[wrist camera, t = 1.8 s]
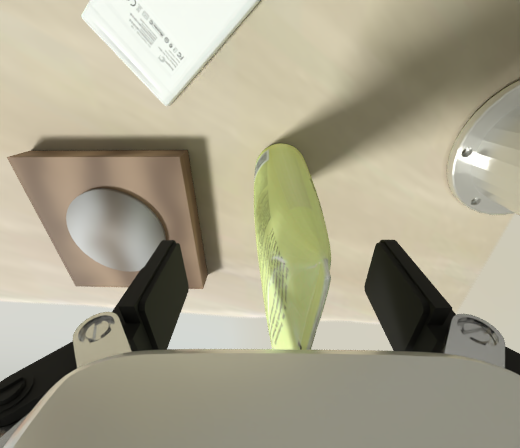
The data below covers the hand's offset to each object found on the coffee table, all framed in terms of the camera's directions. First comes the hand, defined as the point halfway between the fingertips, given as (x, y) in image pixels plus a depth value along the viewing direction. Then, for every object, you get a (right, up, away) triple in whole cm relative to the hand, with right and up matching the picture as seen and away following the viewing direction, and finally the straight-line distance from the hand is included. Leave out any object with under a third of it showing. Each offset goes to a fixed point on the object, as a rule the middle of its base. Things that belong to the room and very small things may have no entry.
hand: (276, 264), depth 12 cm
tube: (+1, +7, +13) cm, 15 cm away
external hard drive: (-7, +19, +7) cm, 21 cm away
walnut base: (-16, +2, +16) cm, 23 cm away
